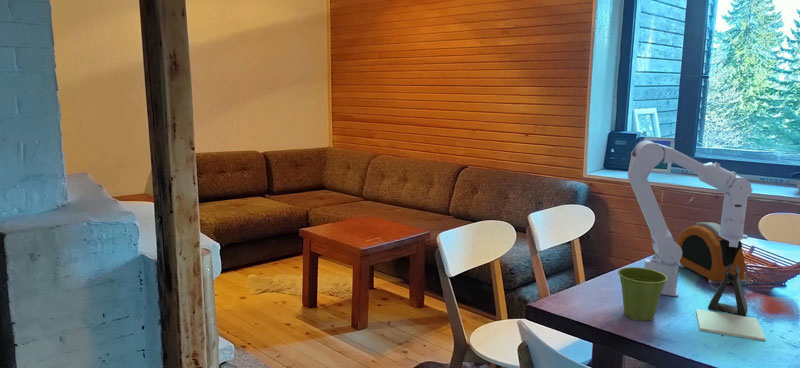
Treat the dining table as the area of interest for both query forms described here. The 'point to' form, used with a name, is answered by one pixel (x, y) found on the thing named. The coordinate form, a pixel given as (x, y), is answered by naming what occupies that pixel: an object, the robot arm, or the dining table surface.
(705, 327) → the mat
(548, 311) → the dining table surface
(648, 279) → the plant pot
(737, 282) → the phone stand
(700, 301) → the dining table surface
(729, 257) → the robot arm
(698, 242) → the orange tape measure
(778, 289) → the dining table surface
